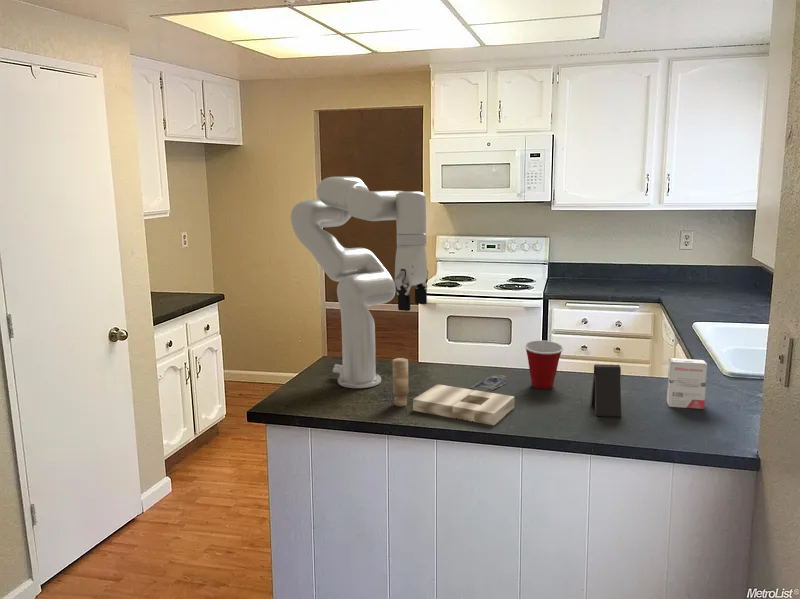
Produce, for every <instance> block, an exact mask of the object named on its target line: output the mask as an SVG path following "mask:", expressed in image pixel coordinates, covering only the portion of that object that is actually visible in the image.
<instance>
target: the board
mask: <svg viewBox="0 0 800 599" xmlns="http://www.w3.org/2000/svg"><path fill="white" fill-rule="evenodd" d="M514 409H515V396H513V395H507V394H503V393H495V392H487V391H486V392H485V391H481V390H478V389H475V390H471V389H468V388H465V387H457V386H449V385H445V384H435V385H434V386H432V387H431V388H429V389H427V390H426V391H424V392H423V393H421V394H419V395H417V396H416V397H414V398H412V410H413V411H414V412H419V413H425V414H430V415H437V416H441V417H446V418H452V419H456V418H457V419H458V420H462V419H463V421H467V420H468V422H472V421H473V422H474V423H477V424H478V423H479V424H484V425H488V426H495V425H497V423H499V422H500V421H501V420H503V418H505V416H507V415H508V413H511V412H512V410H514ZM506 414H507V415H506ZM457 419H456V420H457Z"/></svg>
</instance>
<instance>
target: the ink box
mask: <svg viewBox="0 0 800 599" xmlns="http://www.w3.org/2000/svg"><path fill="white" fill-rule="evenodd" d="M707 372H708V364H707V362H706V361H705V360H704V359H691V358H674V357H673V358H672V357H670V358H669V359H668V377H667V392H666V403H667V406H668V407H669V408H670V407H671V408H684V409H699V410H705V405H706V404H705V403H706V391H707V389H706V386H707V376H708V375H707Z"/></svg>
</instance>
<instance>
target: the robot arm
mask: <svg viewBox="0 0 800 599" xmlns="http://www.w3.org/2000/svg"><path fill="white" fill-rule="evenodd" d="M316 194H317V198H318V199H306V200H303V201H302V200H301V201H300V202H297V203H296V204H295V205H294V206H293V207H292V210H291V213H290V222H291V227H292V230H293V232H294V235H295V236H296V238H297V239H298V241H299V242H300V243H301V244H302V245H303V246H304V247H305V249H307V250H308V251H309V252H310V254H311V255H312V256H313V258H314V259H315V261H316V262H317V263H318V265H319V266H320V267H321V269H322V270H323V272H324V273H325V274H326V275H327V277H328V278H329V279H330V280H332V281H333V282H338V283H337V287H336V295H337V300H338V305H339V311H340V318H341V319H340V320H341V321H340V323H341V348H342V349H341V351H342V353H341V354H342V355H341V356H342V364H337V363H335V364H334V365H333V368H332V373H336V374H339V377H338V378H337V383H338V385H340V386H341V387H344V388H347V389H348V388H349V389H367V388H372V387H375V386H377V385H380V384H381V383H382V377H381V375H379V374H378V373H377V372H376V365H377V364H376V324H375V319H374V317H373V315H372V313H371V312H370V310H369V307H371V306H372V307H373V306H377V305H382V304H386V303H389V302H390V301H392V300H393V299H394V298H395V295H397V308H398V310H399V311H404V312H405V311H406V312H409V311H411V294H409V293H410V290H411V288H412V287H415V288H414V302H415V304H416V305H427V304H428V297H427V296H428V294H427V291H428V290H427V289H428V282H429V281H428V280H429V279H428V277H429V270H428V265H427V264H428V262H427V252H426V247H427V206H426V204H427V198H426V195H425V192H421V191H420V190H419V191H410V190H409V191H404V190H376V191H374V190H373V191H371V190H369V187H368V186H367V185H366V184H365V182H363V180H362V179H361V178H359V177H356V176H330V177H325V178H324V179H322V180H321V181H320V182H319V183H318V185H317V187H316ZM352 217H353V218H356V219H360V220H365V221H367V222H368V221H369V222H380V221H396V223H395V224H396V251H395V252H396V253H395V259H394V260H395V262H394V279H393V277H392V275H391V274H390V272H389V271H388V269H386V267H385V266H384V265H383V264H382V262H381V261H380V260H379V258H377V255H375V253H373V251H371V250H370V249H368V248H364V247H351V248H350V247H349V248H348V247H344V246H343V245H342V244H341V243H340V242H339V241H338V239H337V238H336V237H335V236H334V235H333V234H331V233H330V232H328V231H327V230H325V229H323V228H334V227H340V226H343V225H344V224H346V223H347V222H348V221H349V220H350V219H351V218H352Z"/></svg>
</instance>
